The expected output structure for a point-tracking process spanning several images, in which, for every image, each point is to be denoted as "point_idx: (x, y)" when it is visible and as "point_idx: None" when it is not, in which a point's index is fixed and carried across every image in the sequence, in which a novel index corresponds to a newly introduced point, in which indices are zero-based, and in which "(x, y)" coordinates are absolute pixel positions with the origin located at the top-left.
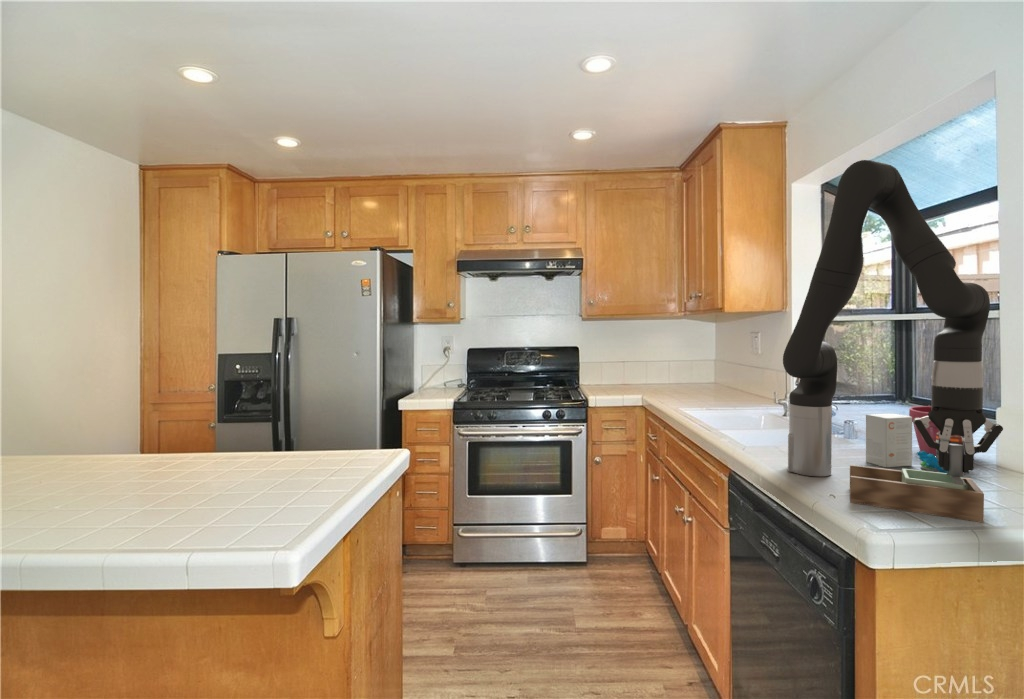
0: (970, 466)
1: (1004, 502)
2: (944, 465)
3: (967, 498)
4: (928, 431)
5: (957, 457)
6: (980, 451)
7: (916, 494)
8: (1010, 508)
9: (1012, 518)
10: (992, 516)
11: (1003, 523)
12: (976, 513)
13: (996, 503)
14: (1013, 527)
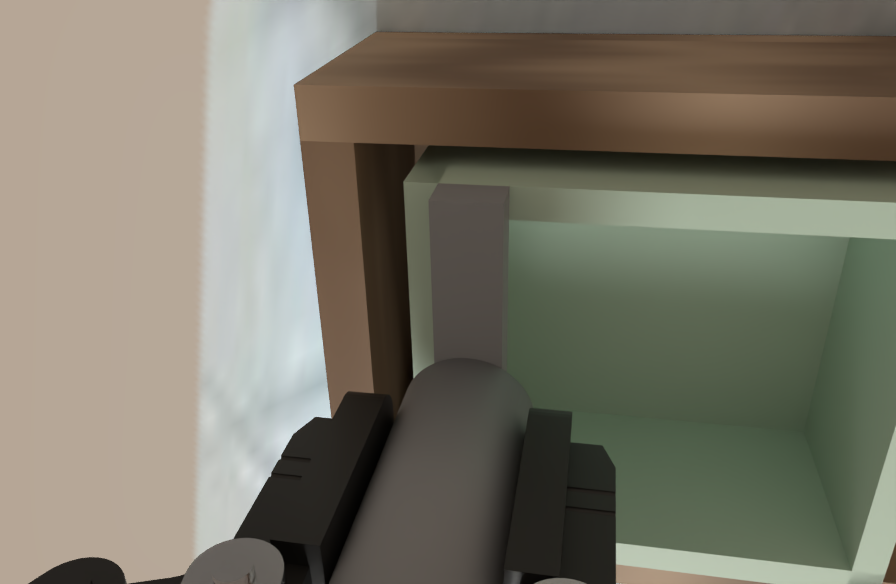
0: (312, 448)
1: (239, 520)
2: (562, 440)
3: (436, 69)
4: None
5: (410, 509)
6: (118, 570)
7: (863, 71)
8: (218, 427)
9: (216, 234)
10: None
11: (265, 87)
12: (401, 44)
13: None
14: (218, 22)
